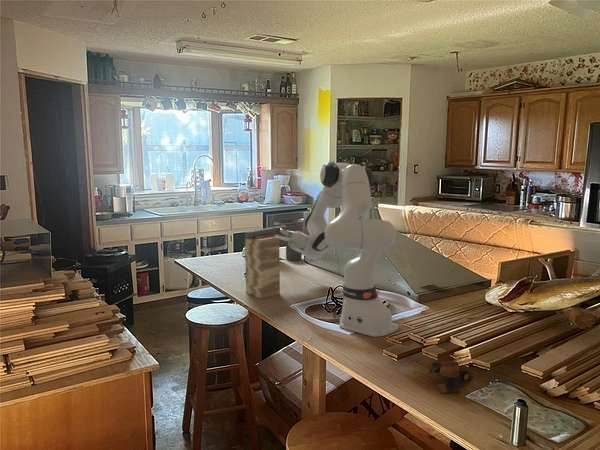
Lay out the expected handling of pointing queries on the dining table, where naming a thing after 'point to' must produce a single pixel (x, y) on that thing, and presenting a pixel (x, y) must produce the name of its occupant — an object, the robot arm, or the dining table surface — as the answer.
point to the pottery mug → (452, 376)
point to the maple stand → (262, 266)
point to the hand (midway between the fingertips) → (276, 229)
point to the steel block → (264, 232)
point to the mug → (292, 254)
